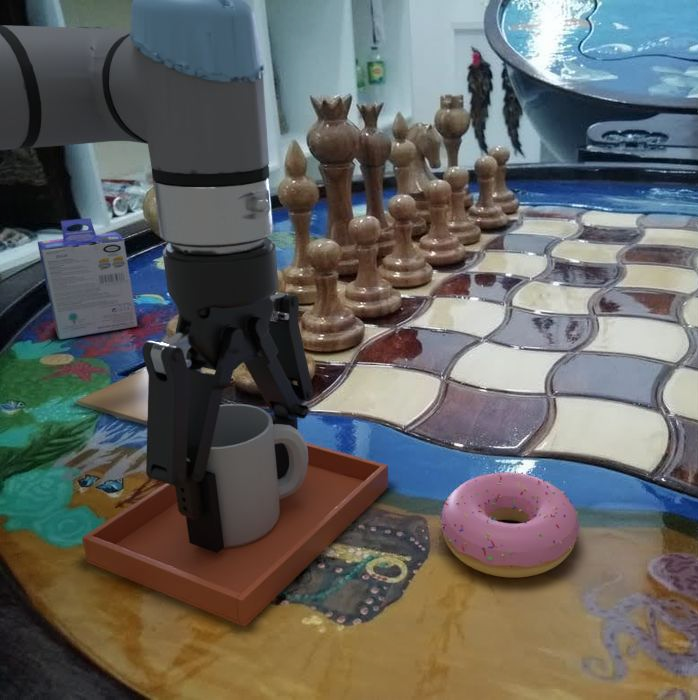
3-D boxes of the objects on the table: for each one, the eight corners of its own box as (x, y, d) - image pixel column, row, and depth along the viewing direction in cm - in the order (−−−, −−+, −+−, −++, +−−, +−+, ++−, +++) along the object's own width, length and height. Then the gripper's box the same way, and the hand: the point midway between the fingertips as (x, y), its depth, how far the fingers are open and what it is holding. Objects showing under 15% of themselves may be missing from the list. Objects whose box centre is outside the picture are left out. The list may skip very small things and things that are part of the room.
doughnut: (602, 571, 56) (608, 525, 54) (466, 603, 52) (467, 555, 50) (541, 493, 65) (544, 452, 63) (422, 515, 61) (422, 473, 60)
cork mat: (77, 405, 78) (76, 400, 78) (150, 371, 87) (149, 366, 86) (146, 425, 74) (145, 420, 74) (216, 388, 83) (215, 383, 83)
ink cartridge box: (131, 315, 104) (115, 213, 98) (140, 327, 100) (124, 222, 94) (53, 328, 98) (31, 221, 93) (59, 341, 94) (36, 230, 89)
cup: (180, 510, 61) (166, 415, 57) (298, 480, 65) (291, 390, 62) (197, 561, 55) (183, 458, 52) (325, 523, 60) (319, 427, 56)
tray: (86, 562, 55) (81, 537, 54) (254, 447, 71) (252, 427, 70) (245, 627, 49) (242, 600, 48) (388, 487, 65) (388, 464, 64)
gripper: (135, 289, 40) (185, 611, 49) (350, 218, 59) (358, 463, 67) (42, 270, 43) (104, 578, 52) (274, 208, 61) (291, 444, 70)
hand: (247, 513), depth 60 cm, fingers closed on cup, 9 cm apart
